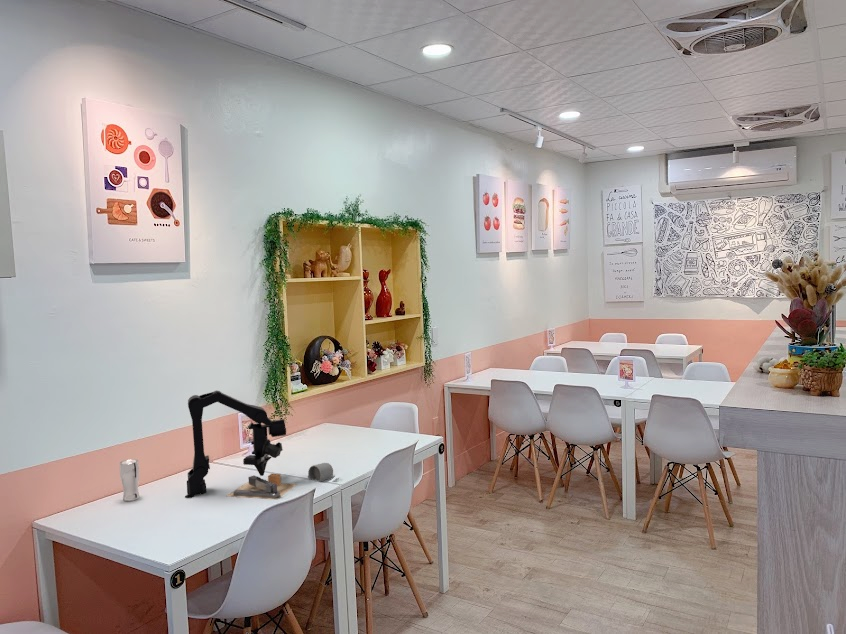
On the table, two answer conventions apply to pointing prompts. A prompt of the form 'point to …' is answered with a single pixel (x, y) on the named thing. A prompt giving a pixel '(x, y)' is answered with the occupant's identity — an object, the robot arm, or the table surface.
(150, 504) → the table surface
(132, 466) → the beer glass
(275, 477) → the tan rectangular block
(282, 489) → the serving board
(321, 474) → the ceramic mug
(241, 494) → the tongs lower
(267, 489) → the tongs upper
